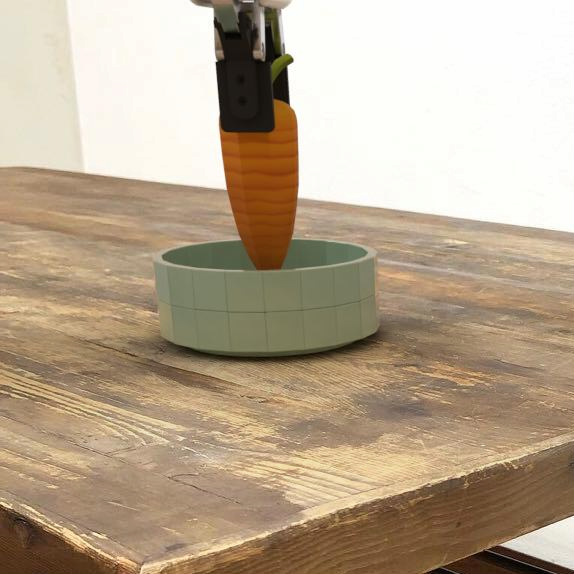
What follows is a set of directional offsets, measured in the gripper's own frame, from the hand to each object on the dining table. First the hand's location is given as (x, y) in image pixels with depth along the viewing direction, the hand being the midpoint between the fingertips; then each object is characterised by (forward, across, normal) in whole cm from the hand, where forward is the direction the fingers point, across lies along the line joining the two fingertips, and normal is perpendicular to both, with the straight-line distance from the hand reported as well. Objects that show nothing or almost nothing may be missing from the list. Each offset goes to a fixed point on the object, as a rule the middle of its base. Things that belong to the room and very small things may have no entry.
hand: (257, 126), depth 77 cm
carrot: (+10, 0, 0) cm, 10 cm away
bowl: (+13, 0, 0) cm, 13 cm away
